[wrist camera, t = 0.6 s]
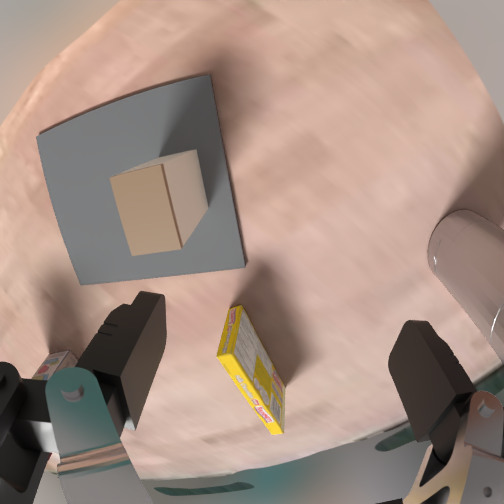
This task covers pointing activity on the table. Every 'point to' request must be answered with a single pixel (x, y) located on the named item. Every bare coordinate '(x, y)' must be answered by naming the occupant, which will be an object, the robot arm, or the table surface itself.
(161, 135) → the mat
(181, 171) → the cream block
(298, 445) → the table surface
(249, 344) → the candy box
